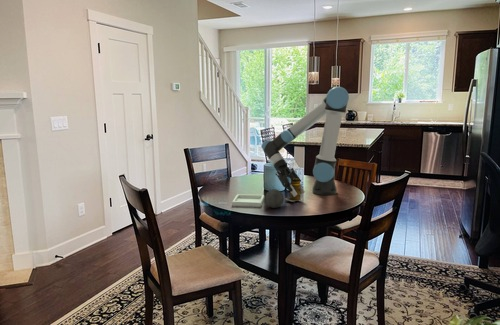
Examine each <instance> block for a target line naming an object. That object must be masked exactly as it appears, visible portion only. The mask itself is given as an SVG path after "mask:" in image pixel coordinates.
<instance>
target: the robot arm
mask: <svg viewBox="0 0 500 325" xmlns="http://www.w3.org/2000/svg"><path fill="white" fill-rule="evenodd" d="M349 96H350V95H349V92H348V91H347V89H346V88H344V87H342V86H334V87H332V88H330V89H329V91H327V94H326V96H325V97H324V98H323V99H322V101H321V102H320V103H319V104H318V105H317V106H315V107H314V108H313V109H312V110H310V111H309V112H307V113H306V114H305V115H304V116H302V117H301V118H300V119H299V120H298V121H296V122H295V123H294V124H292V125H291V126H289V127H288V128H287V129H284V130H283V131H281V132H280V133H279V134H278V135H276V137H275V138H273V139H272V140H271V139H267V140H264V141H263V142H262V144H261V148H262V150H263V153H264V154H265V155H266V157H267V159H268V160H269V161H270V163H271V165H272V166H273V168H274V169H275V171H276V172H275V176H276V177H277V178H278V180H279V182H280V183H281V185H282V187H284V188H285V189H288V191H289V193H290V192H291V193H292V195H293V196H294V197H295V196H296V195H297V193H296V191H295V190H294V188H293V186H292V185H290V183H291V182H290V181H289V179H290V180H291V178H299V179H300V183H301V182H302V179H301V178H300V177H299V176H298V174H297V173H296V171H295V170H294V168H293V167H292V168H290V167H288V162H286V159H285V158H284V157H283V155H282V153H280V151H281V150H283V148H285V147H286V146H287V145H289V144H290V143H291V142H293V141H294V140H295V139H296V138H298V137H299V136H300V135H302V134H303V133H304V132H305V131H307V130H308V129H310V128H311V127H312V126H314V125H315V124H316V123H317V122H319V121H320V120H321V119H323V118H324V117H325V121H324V126H323V133H322V138H321V144H320V149H319V154H317V155H316V156H315V162H314V166H313V168H312V175H313V177H314V179H315V180H314V182H313V183H314V184H313V185H312V190H311V191H312V192H311V193H313V194H316V195H319V196H334V195H336V194H337V193H338V189H337V186H336V182H335V174H336V173H335V170H336V164H337V159H336V158H335V155H336V149H337V145H338V139H339V138H338V137H339V133H340V128H341V124H342V118H343V115H344V114H346V113H347V108H348V102H349V99H350V98H349ZM288 178H289V179H288ZM305 193H306V191H305V189H304V188H303V186H302V185H301V195H304V194H305Z"/></svg>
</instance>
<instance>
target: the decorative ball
mask: <svg viewBox="0 0 500 325" xmlns="http://www.w3.org/2000/svg"><path fill="white" fill-rule="evenodd" d="M284 198H285V196H284V194H283V192H281V190H279V189H276V188H275V189H270V190H268V191H267V193H266V195H265V196H264V201H265V203H266V205H267V206H268V207H270V208H272V209H278V208H279V207H281V206H282V205H283V203H284V201H285V199H284Z"/></svg>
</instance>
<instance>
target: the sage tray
mask: <svg viewBox="0 0 500 325" xmlns="http://www.w3.org/2000/svg"><path fill="white" fill-rule="evenodd" d="M264 201H265V195H264V194H243V193H242V194H241V193H238V194H236V195H235V197H234V198H233V200H232V201H231V205H232V207H246V208H248V207H249V208H262V205H263V203H264Z"/></svg>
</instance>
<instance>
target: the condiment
mask: <svg viewBox="0 0 500 325" xmlns="http://www.w3.org/2000/svg"><path fill="white" fill-rule="evenodd" d="M299 178H300V177H299ZM299 178H291V179H290V182H289V183H290V185H292V186H293V188H294V190H295V191H296V193H297V195H296V196H295V197H294V196H293V195H292V193H291V192H290V191H289V197H284V200H287V201H290V202H297V201H302V200H304V198H301V195H302V194H301V186H302V184H301V182H300V180H301V178H300V179H299Z"/></svg>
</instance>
